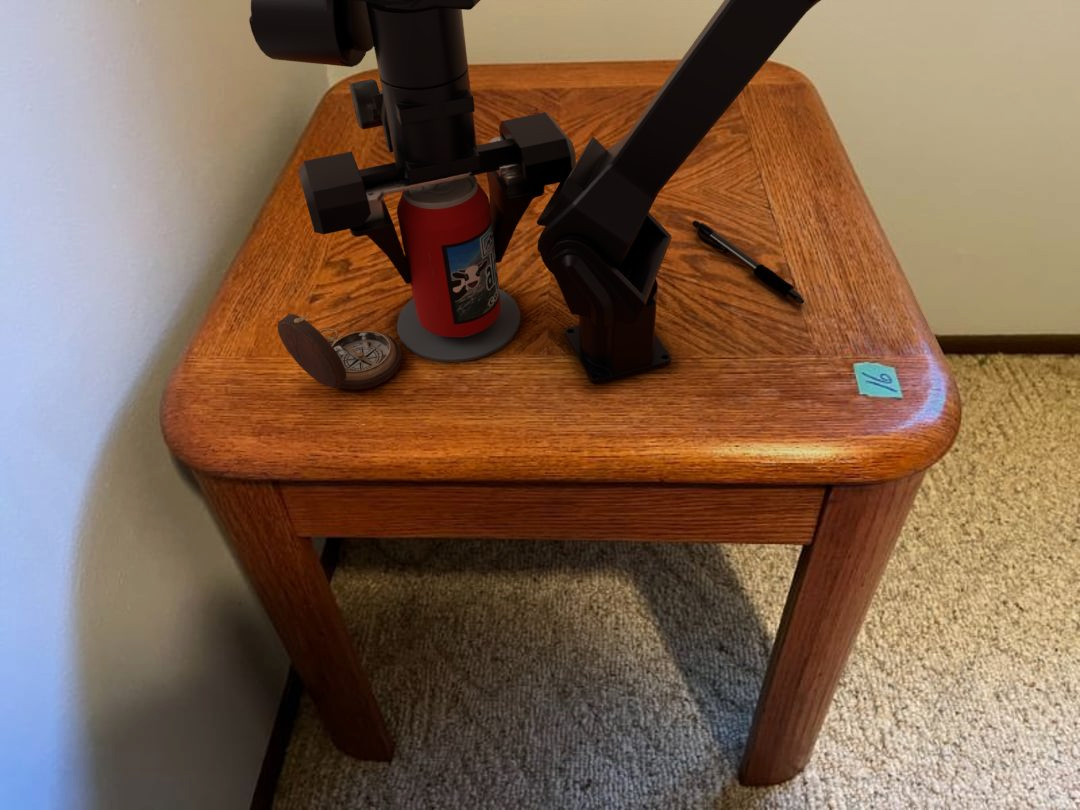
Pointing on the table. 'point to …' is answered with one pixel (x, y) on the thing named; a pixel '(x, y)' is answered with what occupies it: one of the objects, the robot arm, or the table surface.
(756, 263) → the pen
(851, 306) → the table surface
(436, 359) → the felt coaster
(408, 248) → the beverage can
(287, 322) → the compass
